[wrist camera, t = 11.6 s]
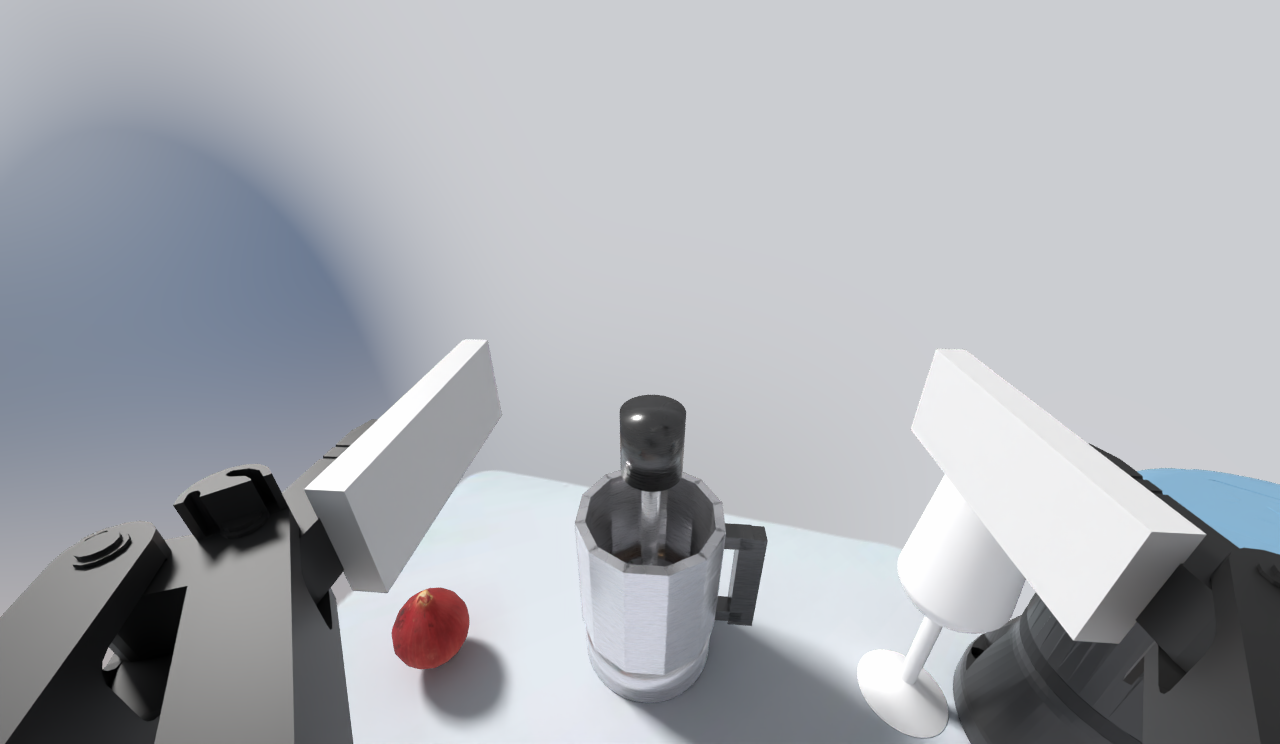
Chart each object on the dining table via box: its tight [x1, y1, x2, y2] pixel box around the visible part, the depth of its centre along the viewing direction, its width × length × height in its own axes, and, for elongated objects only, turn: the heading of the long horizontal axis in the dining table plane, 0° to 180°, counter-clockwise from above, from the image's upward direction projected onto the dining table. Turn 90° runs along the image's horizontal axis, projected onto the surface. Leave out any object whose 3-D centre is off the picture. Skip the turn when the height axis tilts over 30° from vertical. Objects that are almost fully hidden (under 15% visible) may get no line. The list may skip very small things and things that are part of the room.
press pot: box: [575, 470, 767, 703], centre depth 37 cm, size 14×11×15 cm
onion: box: [392, 588, 469, 669], centre depth 37 cm, size 6×6×8 cm
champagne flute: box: [857, 474, 1026, 738], centre depth 31 cm, size 7×7×24 cm
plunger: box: [620, 395, 686, 567], centre depth 34 cm, size 8×8×19 cm
